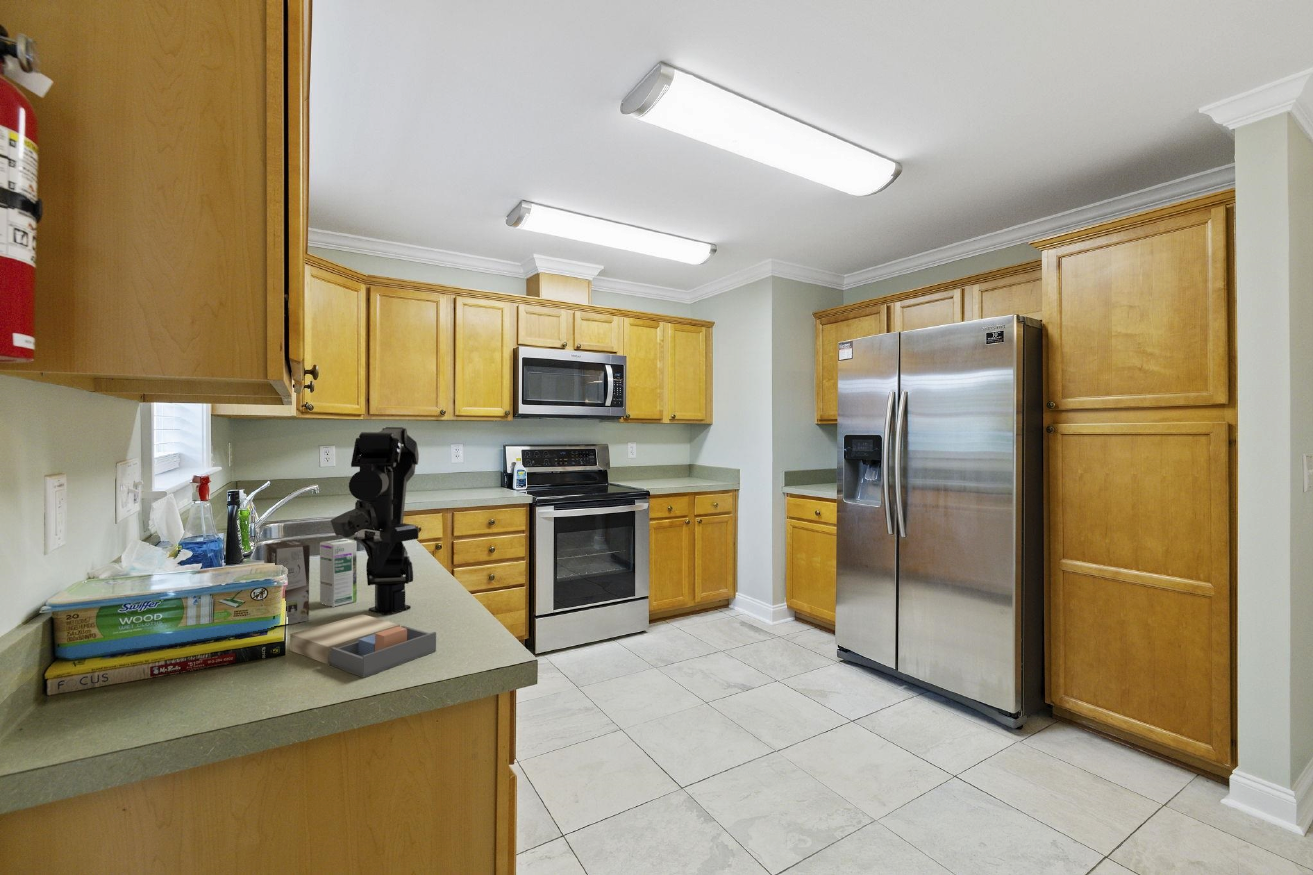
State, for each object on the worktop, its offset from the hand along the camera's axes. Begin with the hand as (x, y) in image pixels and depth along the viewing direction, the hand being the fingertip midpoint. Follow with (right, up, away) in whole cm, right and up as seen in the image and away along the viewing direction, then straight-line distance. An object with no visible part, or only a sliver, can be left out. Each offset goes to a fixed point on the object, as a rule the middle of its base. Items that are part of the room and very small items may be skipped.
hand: (376, 571), depth 119 cm
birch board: (-2, -12, -8) cm, 15 cm away
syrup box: (-18, -12, +19) cm, 29 cm away
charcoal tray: (+8, -12, -14) cm, 20 cm away
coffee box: (-22, -12, +6) cm, 26 cm away
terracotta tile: (+9, -9, -14) cm, 19 cm away
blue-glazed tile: (+6, -11, -13) cm, 18 cm away
